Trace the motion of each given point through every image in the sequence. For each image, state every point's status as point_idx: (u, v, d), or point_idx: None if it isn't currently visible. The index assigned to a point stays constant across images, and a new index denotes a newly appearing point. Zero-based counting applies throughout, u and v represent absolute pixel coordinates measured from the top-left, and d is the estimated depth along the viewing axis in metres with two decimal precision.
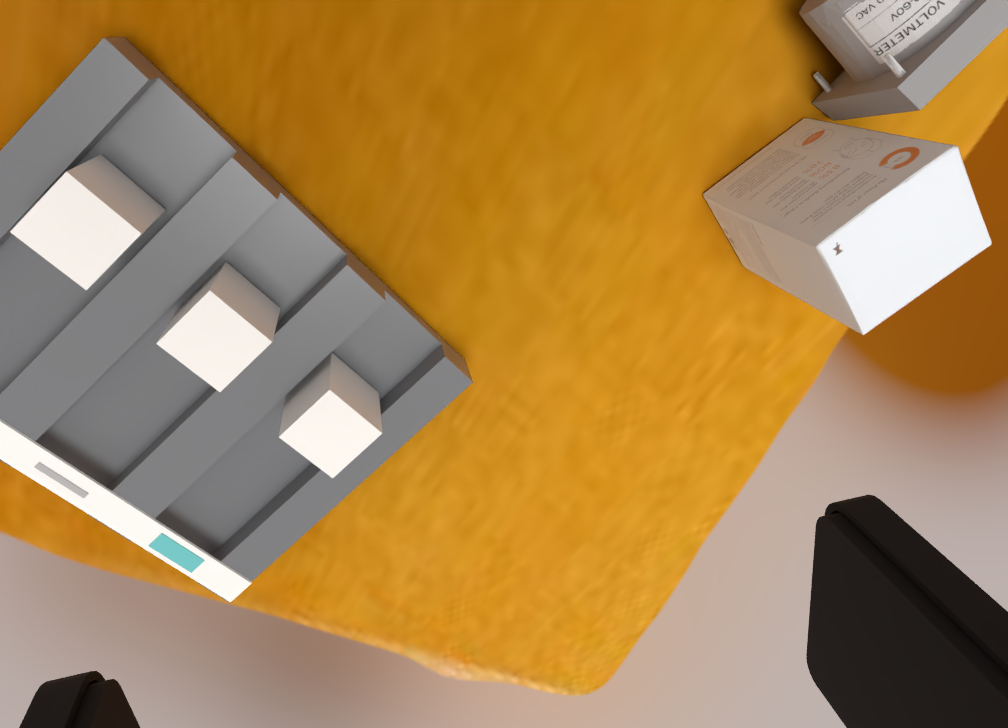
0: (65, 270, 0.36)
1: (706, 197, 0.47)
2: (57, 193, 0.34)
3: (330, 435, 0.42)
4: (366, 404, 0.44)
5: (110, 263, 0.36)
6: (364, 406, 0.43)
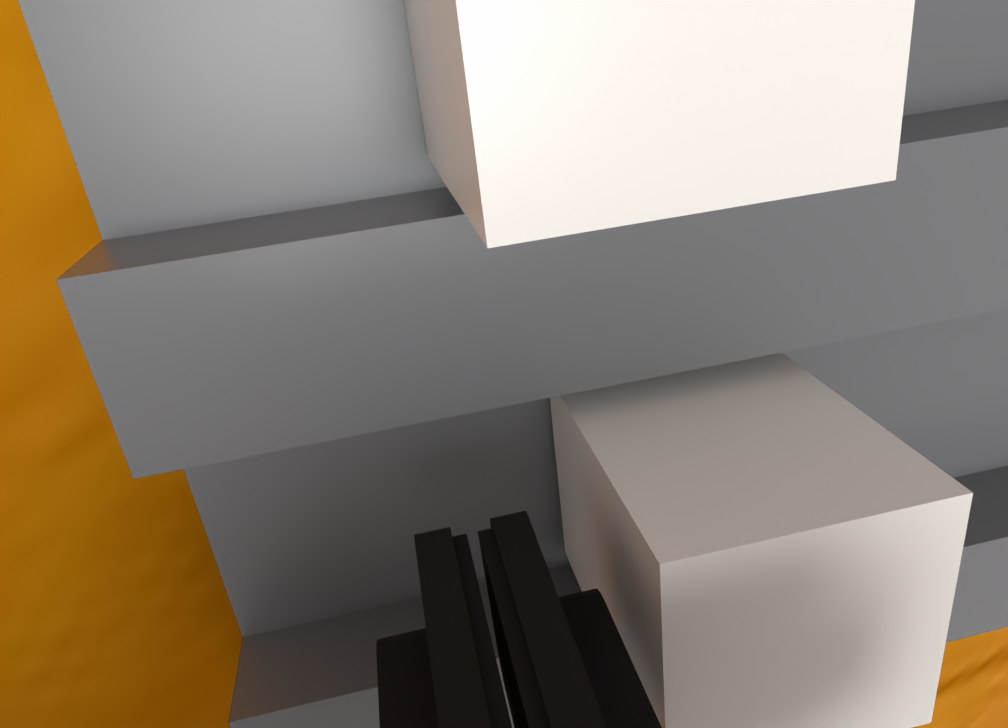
0: (948, 575, 0.10)
1: None
2: None
3: None
4: None
5: (832, 528, 0.09)
6: None
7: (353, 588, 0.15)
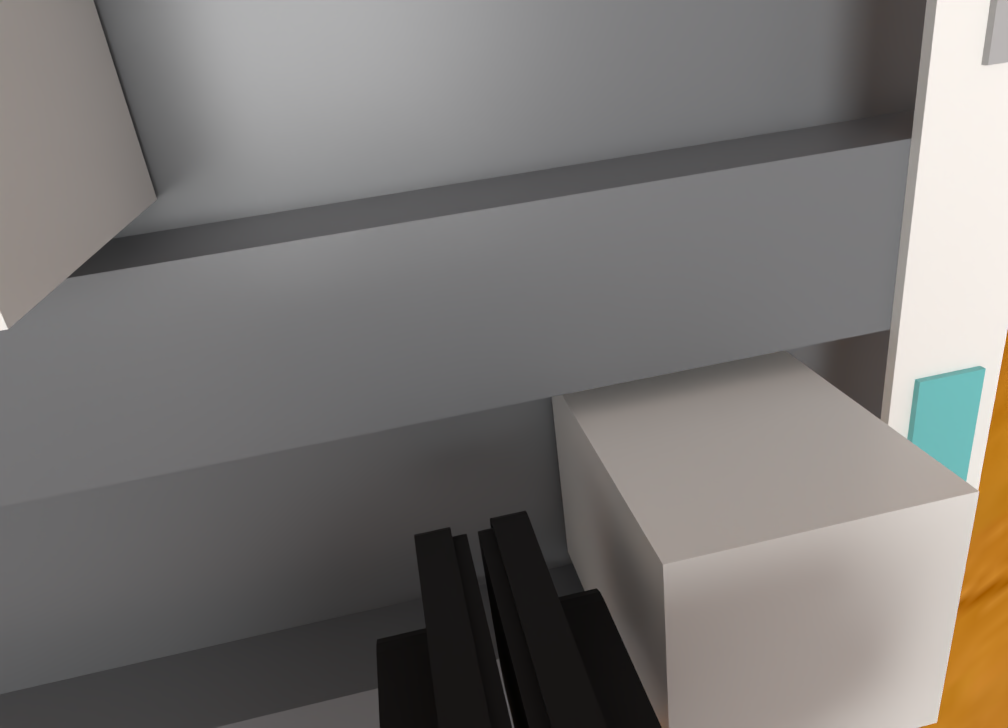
0: (953, 575, 0.09)
1: None
2: None
3: None
4: None
5: (836, 528, 0.09)
6: None
7: None
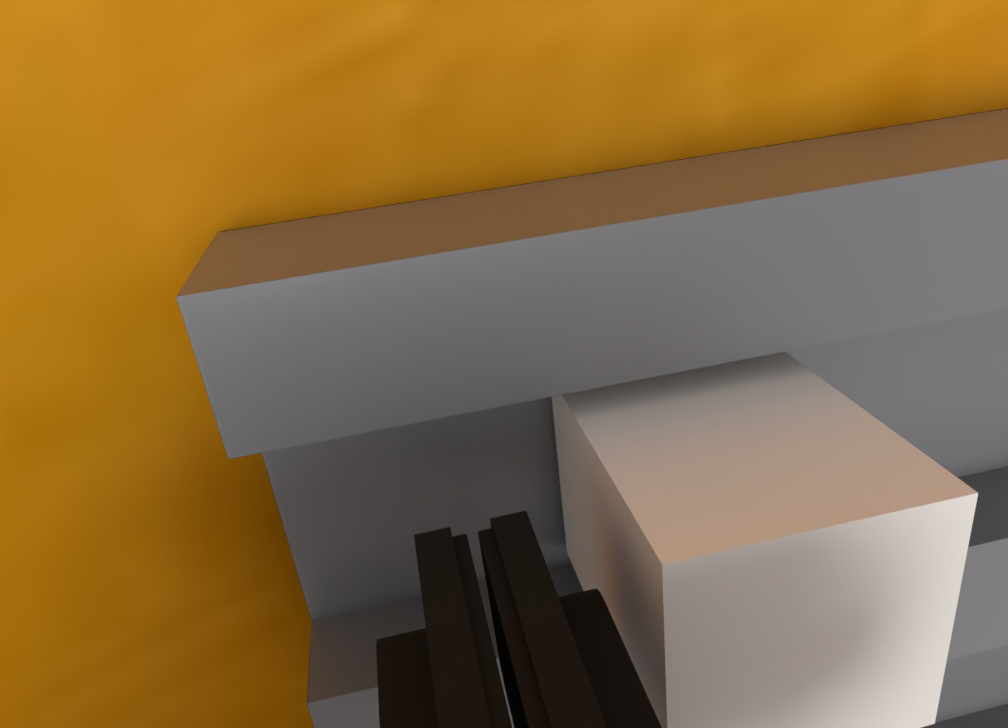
0: None
1: None
2: None
3: (818, 652, 0.10)
4: (612, 540, 0.11)
5: None
6: (622, 568, 0.10)
7: None
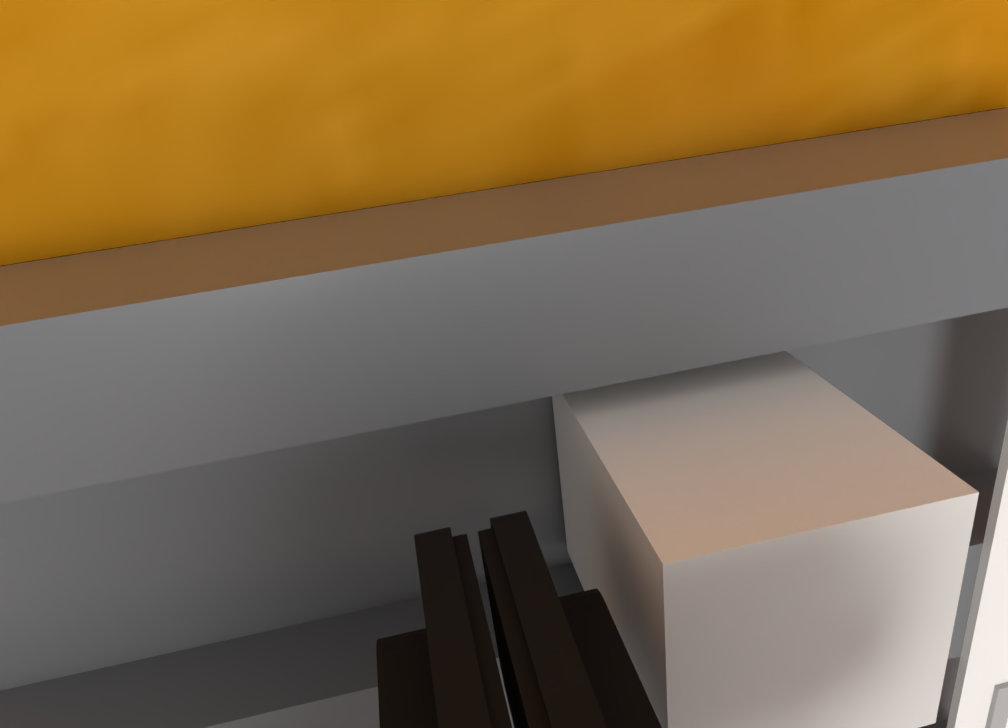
0: None
1: None
2: None
3: (819, 652, 0.10)
4: (612, 539, 0.11)
5: None
6: (622, 568, 0.10)
7: None
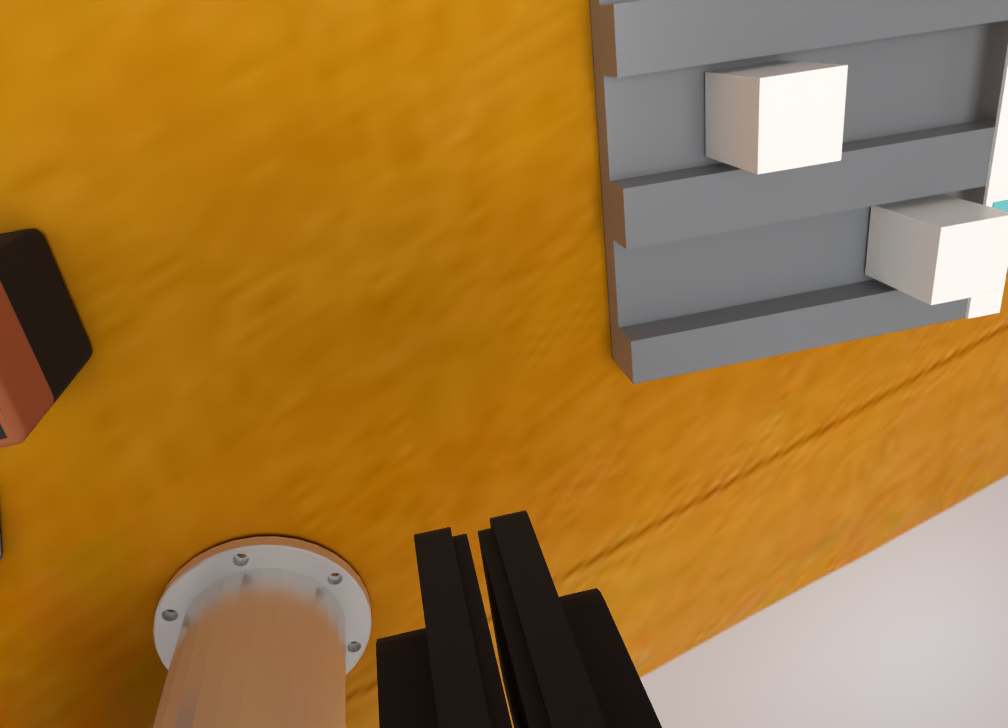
0: None
1: None
2: (951, 295, 0.37)
3: None
4: None
5: (981, 221, 0.36)
6: None
7: (657, 310, 0.41)
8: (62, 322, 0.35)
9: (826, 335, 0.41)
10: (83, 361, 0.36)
